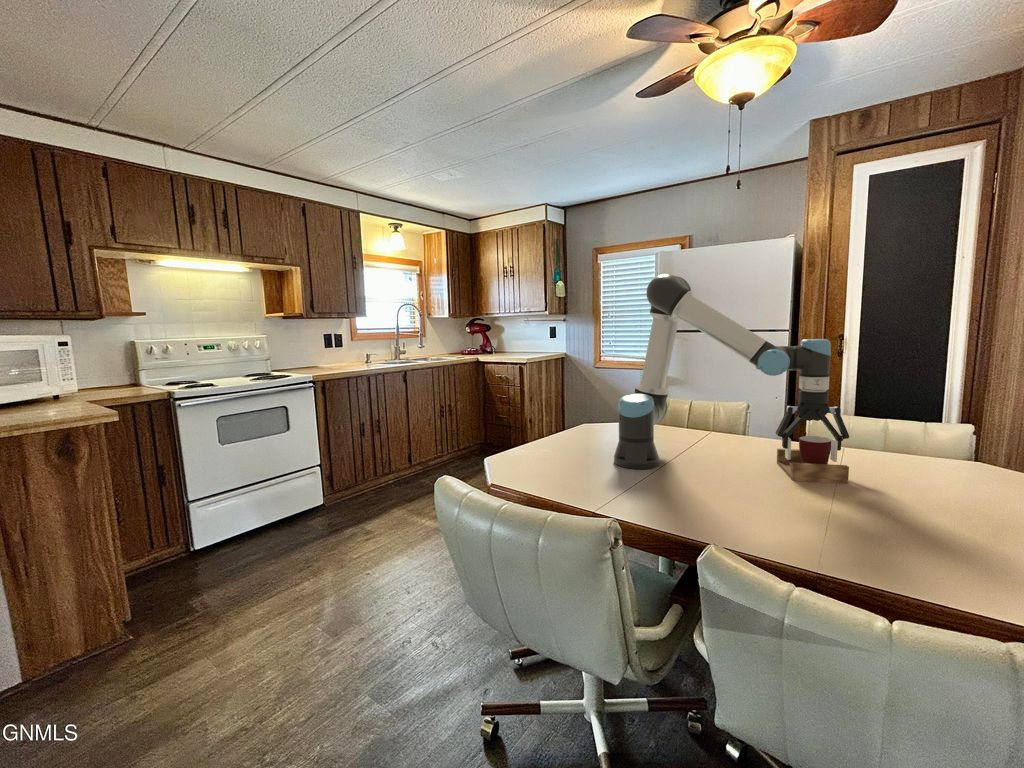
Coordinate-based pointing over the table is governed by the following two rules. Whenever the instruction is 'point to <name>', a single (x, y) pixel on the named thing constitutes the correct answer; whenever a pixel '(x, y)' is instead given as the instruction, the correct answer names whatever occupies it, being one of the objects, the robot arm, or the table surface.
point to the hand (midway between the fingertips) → (810, 459)
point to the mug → (814, 449)
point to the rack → (811, 469)
